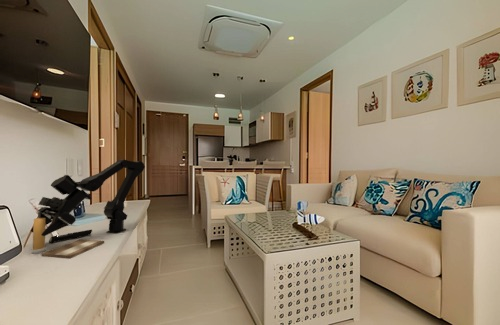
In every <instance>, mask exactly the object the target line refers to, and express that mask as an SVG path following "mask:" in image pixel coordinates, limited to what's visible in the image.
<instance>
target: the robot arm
mask: <svg viewBox="0 0 500 325" xmlns="http://www.w3.org/2000/svg"><path fill="white" fill-rule="evenodd" d="M145 168H146V166H145V164H144V162H143V161H139V160H137V161H136V160H127V159H118V160H116V161H115V162H114V163H112V164H111V165H108V167H106V168H104V169H103V170H101V171H99V172H98V173H96V174H94V175H90V176H87V177H86V178H84V179H83V178H82V180H80V181H76V180H74V179H72V177H71V176H70V175H69V174H64V175H63V176H61V177H59V178H57V179H55V180H53V181H52V182H51V184H50V186H51V187H52V188H53V189H54V190H56V191H58V193H60V194H61V195H62V196H63V195H64V196H65V195H66V197H64V198H59V197H56V196H53V197H52V198H49V197H45V196H42V197H41V199H40V201H39V203H38V206H42V207H40V208H39V209H37V214H38V218H46V226H47V227H45V231H44V232H43V233H42V234H41V235H42V236H45V237H46V236H48V235H49V234H51V233H54V232H57V231H58V230H60V229H63V228H65V227H69V225H71V226H72V225H73V224H74V223H75V222H76V217H75V215H73V214H71V213H72V212H73V210H75V211H77V210H78V206H79V205H80V204H81V203H82V202H83V201H84V200H89V201H90V200H92V194H91V193H88V192H96V191H98V190H99V189H100V188H101V187H102V186H103V185H104V183H105V182H106V181H107V180H108V179H110V178H111V177H112V176H114V175H115V174H117V173H119V171H122V170H123V169H126V176H124V179H123V181H122V183H121V184H120V186H119V189H118V190H117V193H116V194H115V197H114V199H112V200H111V201H110V200H108V201H106V205H105V206H104V207H103V209H104V210H103V214H104V215H105V216H106V218H107V220H109V224H108V230H107V231H106V233H110V234H119V233H121V232H124V231H126V230H127V228H124V222H125V221H126V220H127V218H128V214H126V213H125V212H124V210H125V200H126V198H127V197H128V195H129V193H130V191H131V189H132V187H133V185H134V183H135V181H136V178H138V177H139V176H140V175H141V174H142V173H143V172H144V170H145ZM30 233H33V227H32V228H31V229H30Z"/></svg>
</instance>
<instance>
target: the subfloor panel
mask: <svg viewBox="0 0 500 325" xmlns="http://www.w3.org/2000/svg"><path fill="white" fill-rule="evenodd" d="M103 244H105V240H101V239H100V240H99V239H83V238H80V239H79V238H78V239H77V240H74V241H71V242H69V243H66V244H63V245H60V246H57V247H55V248H53V249H49V250H47V251H45V252H43V253H40V256H41V257H46V258H47V257H48V258H49V257H50V258H59V259H72V258H75V257H77V256H79V255H81V254H83V253H85V252H87V251H90V250H92V249H94V248H96V247H99V246H102V245H103Z"/></svg>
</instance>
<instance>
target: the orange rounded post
mask: <svg viewBox="0 0 500 325" xmlns="http://www.w3.org/2000/svg"><path fill="white" fill-rule="evenodd" d="M46 226H47V225H46V218H39V217H37V218H34V219H33V226H32V228H33V232H32V248H31V250H30V251H31V253H30V254H32V255H38V254H41V253H44V252H47V251H46V249H47V248H46V236H42V235H41V234H42V233H43V232H44V231H45V229H46V228H47V227H46Z"/></svg>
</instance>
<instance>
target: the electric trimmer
mask: <svg viewBox="0 0 500 325" xmlns="http://www.w3.org/2000/svg"><path fill="white" fill-rule="evenodd" d="M92 232H93V229H87V230H82V231H74V232H70V233H65V234H60V235H57V234H55V235H56V236H55V235H54V236H51V237H49V238H50V239H49V240H48V244H55V243H58V242H62V241H66V240H71V239H74V240H75V239H79V238H82V237H87V236H89V235H90V236H91V234H92ZM57 236H58V237H57Z"/></svg>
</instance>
